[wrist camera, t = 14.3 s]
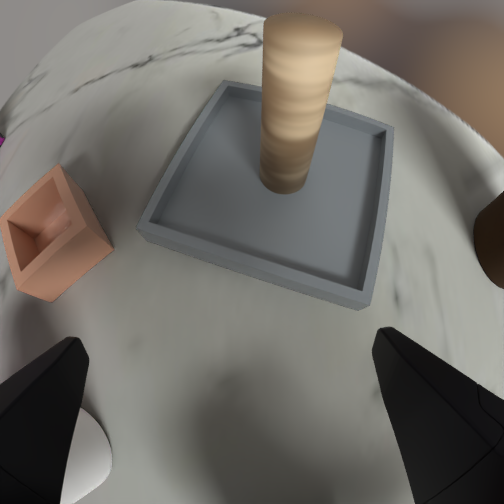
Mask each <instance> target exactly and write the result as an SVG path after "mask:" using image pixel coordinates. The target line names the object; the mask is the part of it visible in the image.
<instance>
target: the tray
mask: <svg viewBox="0 0 504 504" xmlns="http://www.w3.org/2000/svg"><path fill="white" fill-rule="evenodd" d="M261 107H262V87H259V86H254V85H249V84H244V83H238V82H232V81H226V80H223V82H222V83H221V85H220V86H219V87H218V89H217V90H216V92H215V93H214V95H213V96H212V97H211V99H210V100H209V102H208V103H207V105H206V106H205V108H204V109H203V111H202V112H201V114H200V115H199V117H198V119H197V120H196V122H195V123H194V125H193V126H192V128H191V129H190V131H189V133H188V134H187V136H186V138H185V139H184V141H183V142H182V144H181V146H180V147H179V149H178V151H177V152H176V154H175V156H174V157H173V159H172V161H171V163H170V164H169V166H168V168H167V170H166V171H165V173H164V175H163V177H162V179H161V180H160V182H159V184H158V186H157V188H156V189H155V191H154V193H153V195H152V197H151V199H150V201H149V203H148V205H147V207H146V208H145V210H144V212H143V214H142V216H141V218H140V220H139V222H138V224H137V226H136V229H137V230H138V231H139V233H140V234H141V235H142V236H143V237H144V238H145V240H147V241H150V242H152V243H155V244H158V245H161V246H164V247H166V248H169V249H172V250H175V251H178V252H181V253H184V254H186V255H189V256H192V257H195V258H198V259H201V260H204V261H207V262H210V263H213V264H215V265H218V266H221V267H224V268H227V269H230V270H233V271H236V272H239V273H242V274H245V275H248V276H251V277H254V278H257V279H260V280H263V281H266V282H269V283H272V284H275V285H278V286H281V287H285V288H288V289H291V290H294V291H297V292H300V293H303V294H306V295H309V296H313V297H316V298H319V299H322V300H325V301H328V302H332V303H335V304H338V305H341V306H344V307H348V308H351V309H354V310H357V311H359V310H361V309H363V308H365V307H368V306H370V303H371V299H372V294H373V290H374V285H375V280H376V275H377V270H378V265H379V260H380V254H381V248H382V242H383V236H384V230H385V223H386V216H387V208H388V200H389V191H390V181H391V170H392V157H393V141H394V127H392V126H389V125H387V124H384V123H382V122H379V121H377V120H374V119H371V118H369V117H366V116H363V115H360V114H357V113H355V112H352V111H349V110H346V109H343V108H339V107H336V106H333V105H330V104H326V108H325V112H324V116H323V120H322V123H321V127H320V131H319V135H318V139H317V142H316V146H315V150H314V153H313V157H312V161H311V164H310V168H309V172H308V175H307V179H306V182H305V184H304V186H303V187H302V188H301V189H300V190H299V191H297V192H295V193H292V194H277V193H274V192H272V191H270V190H269V189H267V188H266V187H265V186H264V185H263V183H262V182H261V179H260V142H261Z"/></svg>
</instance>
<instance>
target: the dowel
mask: <svg viewBox="0 0 504 504" xmlns="http://www.w3.org/2000/svg"><path fill="white" fill-rule="evenodd" d="M342 38H343V33H342V31H341V29H340V28H339V27H338V26H337V25H335V24H334V23H332V22H330V21H328V20H326V19H323V18H321V17H318V16H314V15H309V14H303V13H281V14H276V15H273V16H271V17H269V18H267V19H266V20H265V21H264V29H263V69H262V107H261V142H260V179H261V182H262V183H263V185H264V186H265V187H266V188H267V189H269V190H270V191H272V192H274V193H277V194H292V193H295V192H297V191H299V190H300V189H301V188H302V187H303V186H304V184H305V182H306V179H307V175H308V172H309V168H310V164H311V161H312V157H313V153H314V150H315V146H316V142H317V139H318V135H319V131H320V127H321V123H322V120H323V116H324V112H325V108H326V104H327V100H328V96H329V92H330V88H331V84H332V80H333V76H334V72H335V68H336V64H337V59H338V55H339V51H340V47H341V42H342Z"/></svg>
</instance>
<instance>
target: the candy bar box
mask: <svg viewBox="0 0 504 504" xmlns="http://www.w3.org/2000/svg"><path fill="white" fill-rule="evenodd" d="M4 139H5V138H4V137H3V135H2V134H1V133H0V146H1V145H2V143H3V141H4Z"/></svg>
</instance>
